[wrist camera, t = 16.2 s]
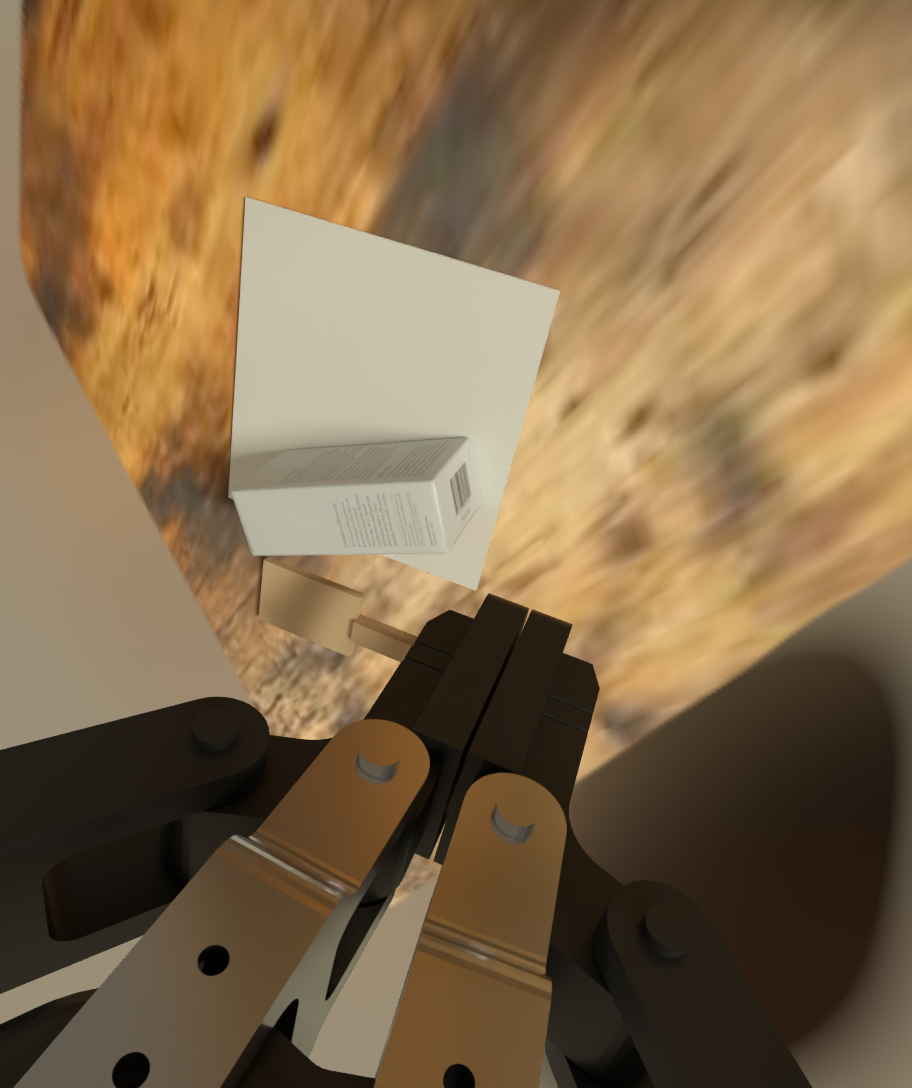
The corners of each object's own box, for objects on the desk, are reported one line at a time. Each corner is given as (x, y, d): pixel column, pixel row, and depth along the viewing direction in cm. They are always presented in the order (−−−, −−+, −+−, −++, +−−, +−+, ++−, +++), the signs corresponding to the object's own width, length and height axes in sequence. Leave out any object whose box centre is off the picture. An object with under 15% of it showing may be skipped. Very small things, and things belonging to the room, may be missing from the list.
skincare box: (485, 507, 43) (303, 511, 47) (472, 435, 41) (285, 446, 45) (448, 559, 38) (249, 558, 42) (432, 479, 36) (226, 487, 40)
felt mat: (560, 290, 36) (559, 291, 36) (476, 589, 46) (475, 590, 46) (247, 196, 39) (245, 196, 39) (230, 496, 49) (228, 497, 48)
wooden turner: (479, 639, 47) (474, 648, 47) (462, 697, 50) (457, 706, 49) (268, 555, 50) (260, 562, 49) (263, 614, 53) (255, 622, 52)
